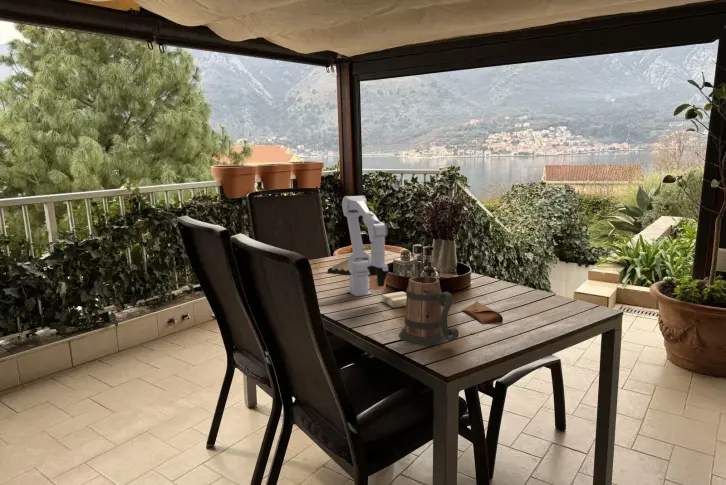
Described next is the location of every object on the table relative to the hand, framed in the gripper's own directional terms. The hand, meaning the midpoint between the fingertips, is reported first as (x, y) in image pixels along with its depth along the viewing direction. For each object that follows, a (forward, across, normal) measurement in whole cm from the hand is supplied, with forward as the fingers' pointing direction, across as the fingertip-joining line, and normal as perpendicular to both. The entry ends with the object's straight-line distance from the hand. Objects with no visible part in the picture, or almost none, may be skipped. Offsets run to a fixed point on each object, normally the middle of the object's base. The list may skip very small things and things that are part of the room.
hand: (377, 284), depth 202 cm
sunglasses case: (+9, +32, +28) cm, 43 cm away
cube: (+2, 0, 0) cm, 2 cm away
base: (+8, +2, +8) cm, 12 cm away
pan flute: (+9, -61, +19) cm, 65 cm away
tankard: (+9, +42, -2) cm, 43 cm away
